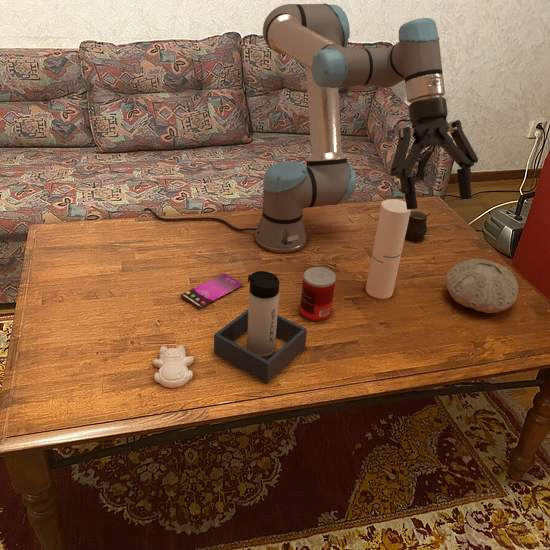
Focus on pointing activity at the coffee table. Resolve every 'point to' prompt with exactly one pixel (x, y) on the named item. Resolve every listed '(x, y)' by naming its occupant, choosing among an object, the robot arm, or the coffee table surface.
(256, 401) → the coffee table surface
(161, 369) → the white animal figurine
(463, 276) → the decorative shell
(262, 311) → the travel mug
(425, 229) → the mate gourd
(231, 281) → the smartphone
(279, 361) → the frame
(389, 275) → the cylindrical container
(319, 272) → the canned food
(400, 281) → the coffee table surface
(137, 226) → the coffee table surface
